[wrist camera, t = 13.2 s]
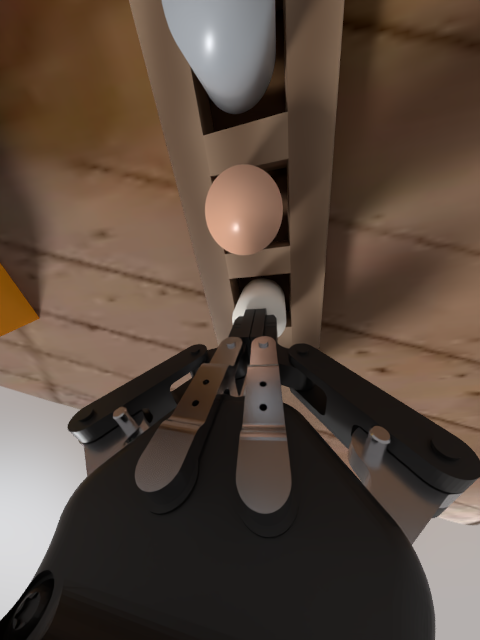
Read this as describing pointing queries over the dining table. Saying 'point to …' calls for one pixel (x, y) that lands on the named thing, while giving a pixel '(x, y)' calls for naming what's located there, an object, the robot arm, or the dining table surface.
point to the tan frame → (256, 157)
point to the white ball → (263, 300)
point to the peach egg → (243, 209)
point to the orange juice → (13, 305)
